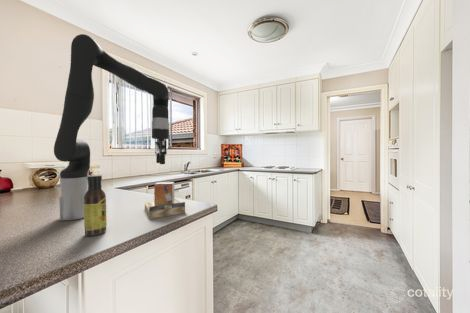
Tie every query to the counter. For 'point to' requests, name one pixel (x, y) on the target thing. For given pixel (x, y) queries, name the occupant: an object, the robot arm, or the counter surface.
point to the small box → (163, 193)
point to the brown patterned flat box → (164, 209)
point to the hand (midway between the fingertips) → (160, 163)
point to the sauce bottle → (94, 207)
